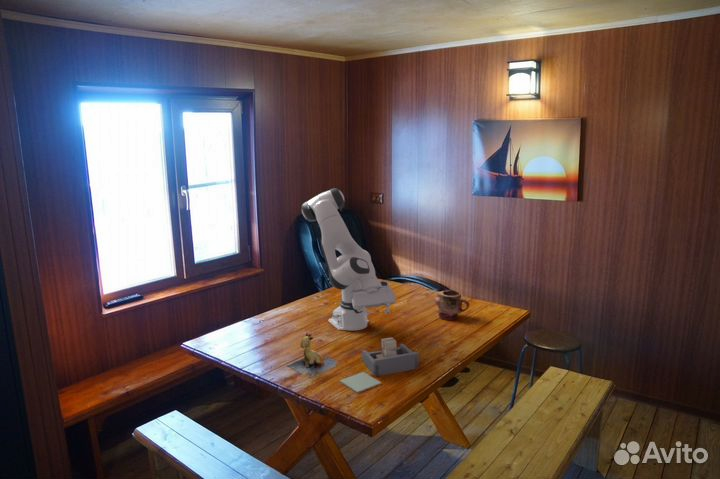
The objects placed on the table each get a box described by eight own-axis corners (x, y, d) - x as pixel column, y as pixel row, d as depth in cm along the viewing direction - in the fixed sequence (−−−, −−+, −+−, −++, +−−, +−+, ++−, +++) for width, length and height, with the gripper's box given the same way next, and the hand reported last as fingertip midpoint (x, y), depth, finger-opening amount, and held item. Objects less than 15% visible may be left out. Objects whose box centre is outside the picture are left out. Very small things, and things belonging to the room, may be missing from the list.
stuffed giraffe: (286, 366, 229) (286, 332, 226) (317, 354, 242) (318, 321, 239) (310, 379, 219) (310, 343, 215) (341, 366, 231) (342, 332, 228)
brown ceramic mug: (473, 317, 283) (473, 292, 280) (465, 324, 272) (466, 299, 269) (437, 311, 292) (438, 287, 289) (429, 318, 282) (429, 293, 279)
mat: (339, 381, 215) (339, 380, 215) (363, 373, 222) (363, 371, 221) (357, 393, 205) (357, 391, 205) (381, 383, 212) (381, 382, 212)
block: (381, 356, 230) (381, 339, 229) (392, 354, 232) (392, 337, 230) (385, 360, 226) (385, 342, 225) (396, 358, 228) (396, 341, 226)
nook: (362, 361, 233) (362, 346, 232) (403, 353, 239) (403, 339, 238) (375, 376, 218) (375, 360, 217) (418, 368, 225) (418, 353, 223)
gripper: (350, 287, 238) (357, 314, 231) (392, 281, 245) (400, 308, 238) (347, 293, 243) (354, 321, 236) (388, 288, 250) (396, 314, 243)
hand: (378, 314), depth 237 cm, fingers open, 8 cm apart
